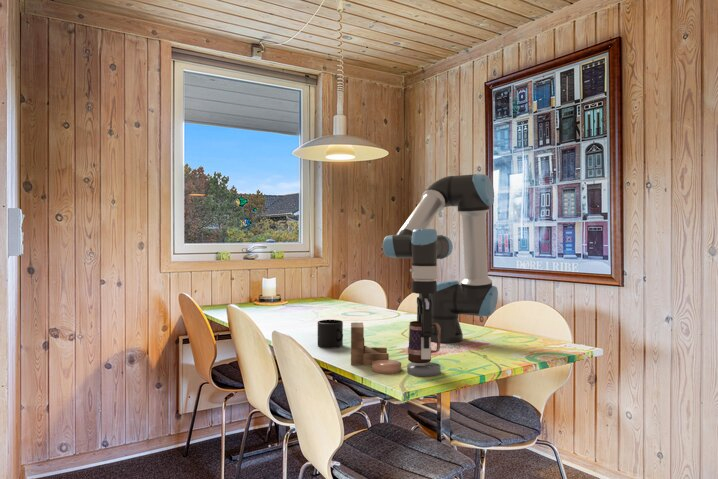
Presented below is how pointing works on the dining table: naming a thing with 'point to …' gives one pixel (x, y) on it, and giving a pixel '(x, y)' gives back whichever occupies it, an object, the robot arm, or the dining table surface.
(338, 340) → the mug
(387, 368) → the pink disc
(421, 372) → the stand slate
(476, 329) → the dining table surface
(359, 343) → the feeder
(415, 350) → the mug
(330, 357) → the dining table surface
